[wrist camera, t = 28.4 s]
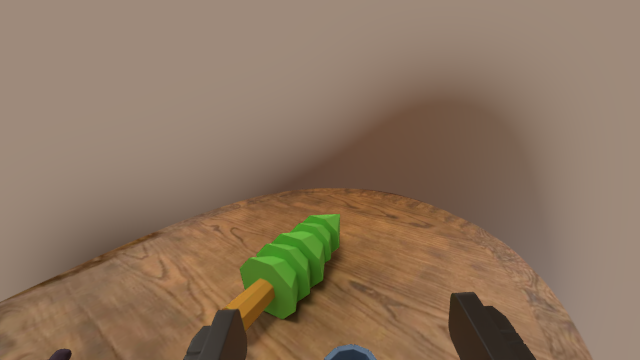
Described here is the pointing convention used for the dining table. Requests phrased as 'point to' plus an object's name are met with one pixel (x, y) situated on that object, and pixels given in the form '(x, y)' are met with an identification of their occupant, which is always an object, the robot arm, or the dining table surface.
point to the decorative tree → (287, 269)
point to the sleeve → (350, 353)
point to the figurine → (61, 355)
